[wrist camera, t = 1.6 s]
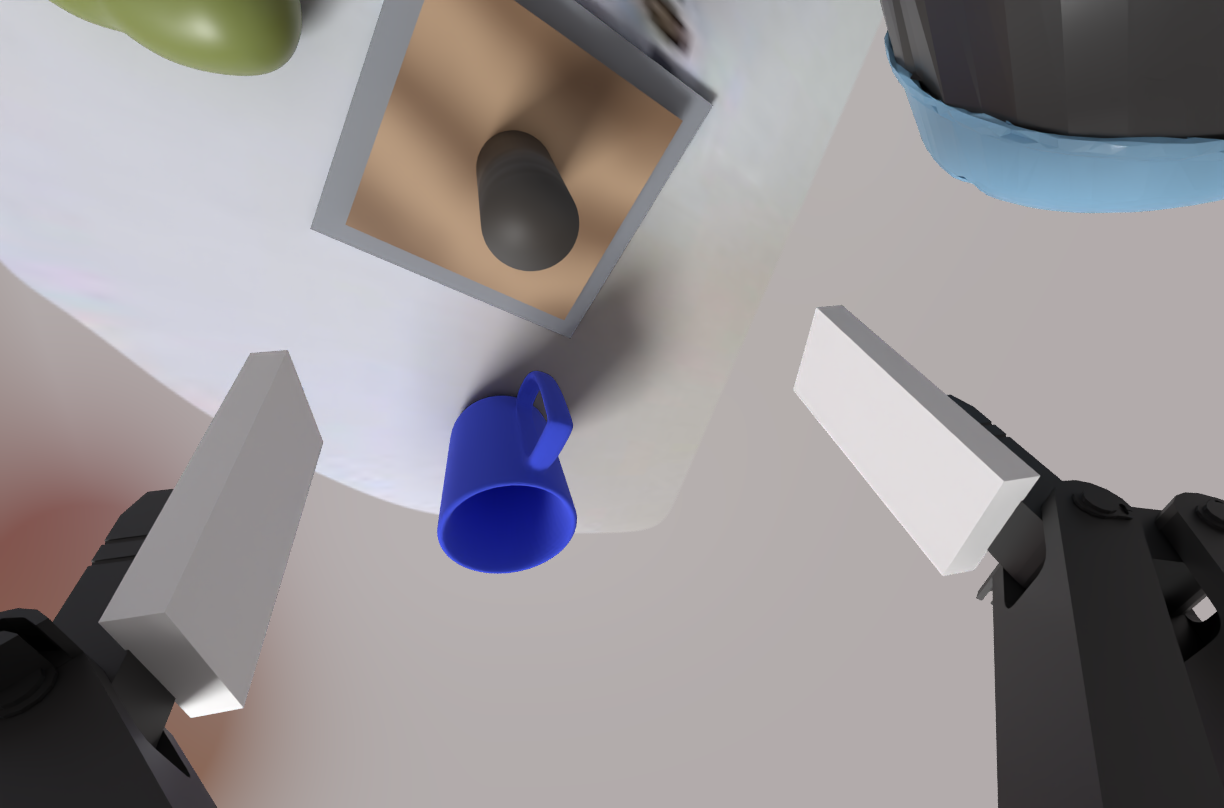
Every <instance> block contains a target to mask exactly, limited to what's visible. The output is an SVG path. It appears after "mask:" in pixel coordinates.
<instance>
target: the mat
mask: <svg viewBox="0 0 1224 808" xmlns="http://www.w3.org/2000/svg"><path fill="white" fill-rule="evenodd" d="M514 1H516V2H517V3H519V4H520V5H521V6H523V7H524V8H526V9H527V10H528V11H530V12H531V13H533V14H534V15H535V16H537V17H538V18H540V19H541V20H542V21H544V22H545V23H547V24H548V25H549V26H551V27H552V28H554V29H555V30H556V31H558V32H559V33H561V34H562V35H563V36H565V37H566V38H568V39H569V40H570V41H572V42H573V43H575V44H576V45H577V46H579V47H580V48H582V49H583V50H584V51H586V52H587V53H589V54H590V55H591V56H593V57H594V58H596V59H597V60H598V61H600V62H601V63H603V64H604V65H605V66H607V67H608V68H609V69H611V70H612V71H614V72H615V73H616V74H618V75H619V76H621V77H622V78H623V79H625V80H626V81H628V82H629V83H630V84H632V85H633V86H635V87H636V88H637V89H639V90H640V91H642V92H643V93H644V94H646V95H647V96H649V97H650V98H651V99H653V100H654V101H656V102H657V103H658V104H660V105H661V106H663V107H664V108H665V109H667V110H668V111H670V112H671V113H672V114H674V115H675V116H677V117H678V118H679V119H681V120H682V121H683V122H682V123H681V125H680V127H679V128H678V130H677V132H676V133H675V135H674V137H673V138H672V140H671V142H670V143H669V145H668V147H667V148H666V150H665V152H664V154H663V155H662V157H661V159H660V160H659V162H658V164H657V165H656V167H655V169H654V170H653V172H652V174H651V175H650V177H649V179H648V180H647V182H646V184H645V185H644V187H643V189H642V190H641V192H640V194H639V196H638V197H637V199H636V201H635V202H634V204H633V206H632V207H631V209H630V211H629V212H628V214H627V216H626V217H625V219H624V221H623V222H622V224H621V226H620V227H619V229H618V231H617V232H616V234H615V236H614V238H613V239H612V241H611V243H610V244H609V246H608V248H607V249H606V251H605V253H604V254H603V256H602V258H601V259H600V261H599V263H598V264H597V266H596V268H595V269H594V271H593V273H592V274H591V276H590V278H589V279H588V281H587V283H586V285H585V286H584V288H583V290H582V291H581V293H580V295H579V296H578V298H577V300H576V301H575V303H574V305H573V306H572V308H571V310H570V311H569V313H568V315H567V316H566V318H565V320H562V319H560V318H557V317H555V316H553V315H551V314H548V313H546V312H544V311H541V310H539V309H537V308H535V307H532V306H530V305H528V304H525V303H523V302H521V301H519V300H516V299H514V298H512V297H509V296H507V295H505V294H503V293H500V292H498V291H496V290H493V289H491V288H489V287H487V286H484V285H482V284H480V283H477V282H475V281H473V280H471V279H468V278H466V277H464V276H461V275H459V274H457V273H455V272H452V271H450V270H448V269H445V268H443V267H441V266H439V265H436V264H434V263H432V262H429V261H427V260H425V259H423V258H420V257H418V256H416V255H413V254H411V253H409V252H407V251H404V250H402V249H400V248H397V247H395V246H393V245H391V244H388V243H386V242H384V241H381V240H379V239H377V238H375V237H372V236H370V235H368V234H365V233H363V232H361V231H359V230H356V229H354V228H352V227H349V226H347V225H345V224H346V221H347V218H348V216H349V213H350V210H351V207H352V204H353V201H354V199H355V196H356V193H357V190H358V187H359V184H360V182H361V179H362V176H363V173H364V170H365V167H366V164H367V162H368V159H369V156H370V153H371V150H372V147H373V145H374V142H375V139H376V136H377V133H378V130H379V128H380V125H381V122H382V119H383V116H384V113H385V111H386V108H387V105H388V102H389V99H390V96H391V94H392V91H393V88H394V85H395V82H396V79H397V76H398V74H399V71H400V68H401V65H402V62H403V59H404V57H405V54H406V51H407V48H408V45H409V42H410V40H411V37H412V34H413V31H414V28H415V25H416V23H417V20H418V17H419V14H420V11H421V8H422V6H423V3H424V0H384V2H383V5H382V9H381V12H380V15H379V18H378V21H377V24H376V27H375V30H374V33H373V36H372V40H371V43H370V46H369V49H368V52H367V55H366V58H365V61H364V64H363V67H362V71H361V74H360V77H359V80H358V83H357V86H356V89H355V92H354V95H353V98H352V102H351V105H350V108H349V111H348V114H347V117H346V120H345V123H344V126H343V129H342V133H341V136H340V139H339V142H338V145H337V148H336V151H335V154H334V157H333V160H332V163H331V167H330V170H329V173H328V176H327V179H326V182H325V185H324V188H323V191H322V194H321V198H320V201H319V204H318V207H317V210H316V213H315V216H314V219H313V222H312V225H311V229H312V230H314V231H317V232H319V233H322V234H324V235H326V236H329V237H331V238H333V239H336V240H338V241H340V242H343V243H345V244H348V245H350V246H352V247H355V248H357V249H359V250H362V251H364V252H367V253H369V254H371V255H374V256H376V257H378V258H381V259H383V260H386V261H388V262H390V263H393V264H395V265H397V266H400V267H402V268H404V269H407V270H409V271H412V272H414V273H416V274H419V275H421V276H423V277H426V278H428V279H431V280H433V281H435V282H438V283H440V284H442V285H445V286H447V287H449V288H452V289H454V290H457V291H459V292H461V293H464V294H466V295H468V296H471V297H473V298H476V299H478V300H480V301H483V302H485V303H487V304H490V305H492V306H494V307H497V308H499V309H502V310H504V311H506V312H509V313H511V314H513V315H516V316H518V317H521V318H523V319H525V320H528V321H530V322H532V323H535V324H537V325H539V326H542V327H544V328H547V329H549V330H551V331H554V332H556V333H558V334H561V335H563V336H566V337H568V338H571V336H572V335H573V333H574V332H575V330H576V328H577V327H578V325H579V323H580V322H581V320H582V318H583V317H584V315H585V314H586V312H587V310H588V309H589V307H590V305H591V304H592V302H593V300H594V299H595V297H596V296H597V294H598V292H599V291H600V289H601V287H602V286H603V284H604V282H605V281H606V279H607V278H608V276H609V274H610V273H611V271H612V269H613V268H614V266H615V264H616V263H617V261H618V260H619V258H620V256H621V255H622V253H623V251H624V250H625V248H626V247H627V245H628V243H629V242H630V240H631V238H632V237H633V235H634V233H635V232H636V230H637V229H638V227H639V225H640V224H641V222H642V220H643V219H644V217H645V215H646V214H647V212H648V211H649V209H650V207H651V206H652V204H653V202H654V201H655V199H656V197H657V196H658V194H659V193H660V191H661V189H662V188H663V186H664V184H665V183H666V181H667V180H668V178H669V176H670V175H671V173H672V171H673V170H674V168H675V166H676V165H677V163H678V162H679V160H680V158H681V157H682V155H683V153H684V152H685V150H686V148H687V147H688V145H689V144H690V142H691V140H692V139H693V137H694V135H695V134H696V132H697V130H698V129H699V127H700V126H701V124H702V122H703V121H704V119H705V117H706V116H707V114H708V113H709V111H710V109H711V108H712V106H713V105H712V104H711V103H709V102H708V101H707V100H705V99H704V98H703V97H701V96H700V95H699V94H697V93H696V92H695V91H693V90H692V89H691V88H689V87H688V86H687V85H686V84H684V83H683V82H682V81H680V80H679V79H678V78H676V77H675V76H674V75H672V74H671V73H670V72H668V71H667V70H666V69H664V68H663V67H662V66H660V65H659V64H658V63H656V62H655V61H654V60H653V59H651V58H650V57H649V56H647V55H646V54H645V53H643V52H642V51H641V50H639V49H638V48H637V47H635V46H634V45H633V44H631V43H630V42H629V41H627V40H626V39H625V38H623V37H622V36H621V35H620V34H618V33H617V32H616V31H614V30H613V29H612V28H610V27H609V26H608V25H606V24H605V23H604V22H602V21H601V20H600V19H598V18H597V17H596V16H594V15H593V14H592V13H590V12H589V11H588V10H587V9H585V8H584V7H583V6H581V5H580V4H579V3H577V2H576V1H575V0H514Z"/></svg>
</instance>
